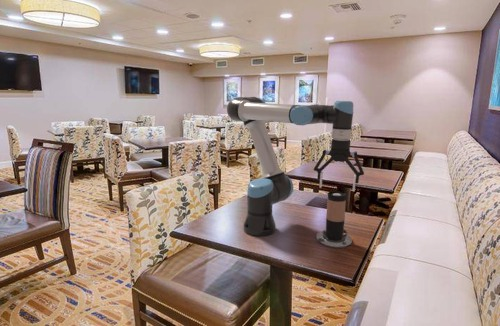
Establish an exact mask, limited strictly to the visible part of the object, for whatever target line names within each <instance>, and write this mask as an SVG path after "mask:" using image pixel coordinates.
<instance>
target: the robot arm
mask: <svg viewBox="0 0 500 326" xmlns="http://www.w3.org/2000/svg"><path fill="white" fill-rule="evenodd" d="M226 112H227V115H228V117H229V118H230V119H231V120H232V121H234V122H243V123H242V124H243V126H244V128H246V129H248V130H249V131H248V132H249V134H250V137H251V140H252V143H253V147H254V149H255V152H256V155H257V159H258V161H259V164H260V168H261V171H262V174H263V175H262V177H261V178H256V179H253V180H251V181H249V182H248V184H247V190H246V193H247V195H246V197H247V201H246V203H247V204H246V205H247V208H246V209H247V213H246V216H245V219H244V222H243V232H244V233H246V234H247V235H250V236H257V237H266V236H270V235H273V234H274V233H276V228H277V227H276V222H275V219H274V215H273V205H275V204H277V203H281V202H283V201H286V200H287V199H288V198H290V197H291V196H292V194H293V192H294V183H293V180H292V179H291V178H290V177H289V176H288V175H286V174H285V173H286V172H285V171H284V170H283V169H281V168H280V165H279V162H278V159H277V156H276V153H275V150H274V148H273V144H272V140H271V137H270V135H269V132H268V129H267V125H266V122H273V123H274V122H275V123H276V122H277V123H285V124H294V125H296V126H306V125H314V124H330V125H332V130H331V131H332V132H331V142H330V143H331V145H330V149H329V150H327V149H326V148H324V149H323V150H322V154H321V156H320V158H319V159H318V161H317V162H316V164H315V166H314V167H313V171H314V172H317V181H319V187H318V188H320V189H321V188H322V185H323V173H324V172H323V171H324V169H326V168H327V167H328V166H329V165H330V164H331V163H332V162H333V161H334V162H340V163H344V162H345V163H346V164H347V166H348V167H349V168H350V169H351V170H352V172H353V173H354V174H353V182H352V192H355V190H356V184H359V180H360V179H359V178H360V176H363V175H365V171H364V169H363V167H362V165H361V162H360V159H359V158H358V152H357V151H350V150H351V149H350V148H351V139H352V125H353V118H354V102H352V100H351V101H350V100H336V101H334V104H333V105H329V104H327V105H325V104H309V105H304V104H285V103H284V104H282V103H267V102H266V101H264V99H262V98H260V97H256V96H250V97H249V96H247V97H246V96H237V97H234V98H232V99H231V100H229V102H228V103H227V106H226ZM328 155H330V158H328V159H327V160H326V162H324V163H323V164H322V165H321V163H322V162H323V160H324V159H325V156H328ZM351 156H352V158H353V159H354V161H355V164H356V165H357V168H358V169H356V167H355V165H354V164H353V163H352V162H351V160H350V159H349V158H350V157H351ZM320 165H321V167H320Z"/></svg>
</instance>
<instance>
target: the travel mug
mask: <svg viewBox="0 0 500 326" xmlns="http://www.w3.org/2000/svg"><path fill="white" fill-rule="evenodd" d="M346 201H347V193H343V192H341V191H340V190H331V191H328V193H327V203H326V204H327V205H326V216H325V217H326V218H325V219H326V220H325V231H326V237H327V238H328V239H330V240H334V241H338V240H341V239H342V238H343V233H344V227H345V219H346V218H345V217H346V203H347V202H346Z"/></svg>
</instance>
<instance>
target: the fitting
mask: <svg viewBox="0 0 500 326" xmlns="http://www.w3.org/2000/svg"><path fill="white" fill-rule="evenodd" d="M316 240H317V242H318V243H320V244H321V245H322V246H326V247H328V248H334V249H344V248H348V247H349V246H351V245H352V241H353V239H352V237H351V236H350V235H348V233H346V232H343V238H342V239H341V240H338V241H334V240H330V239H328V238H327V237H326V229H325V230H322V231H319V232H318V233H317V234H316Z"/></svg>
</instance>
